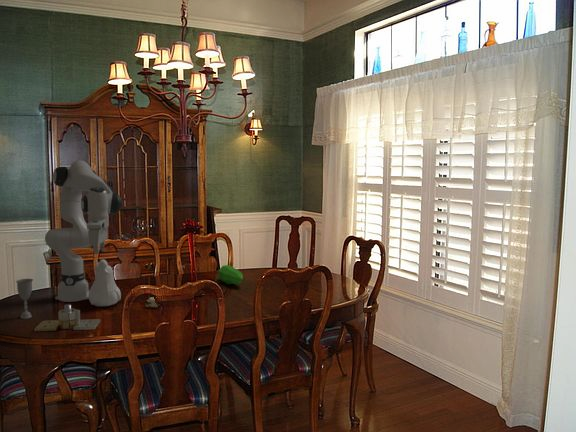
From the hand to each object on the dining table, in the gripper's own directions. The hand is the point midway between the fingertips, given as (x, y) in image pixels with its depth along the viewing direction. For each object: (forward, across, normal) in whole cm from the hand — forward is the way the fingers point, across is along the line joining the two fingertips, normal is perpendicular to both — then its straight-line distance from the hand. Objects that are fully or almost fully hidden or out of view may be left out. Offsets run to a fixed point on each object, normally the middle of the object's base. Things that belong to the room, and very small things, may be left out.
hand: (99, 252), depth 231 cm
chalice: (+33, -9, -37) cm, 51 cm away
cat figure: (+34, -25, +29) cm, 51 cm away
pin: (+33, +6, -13) cm, 36 cm away
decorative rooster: (+33, -30, -5) cm, 45 cm away
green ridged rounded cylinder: (+33, -66, +62) cm, 97 cm away
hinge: (+33, +6, -13) cm, 36 cm away
